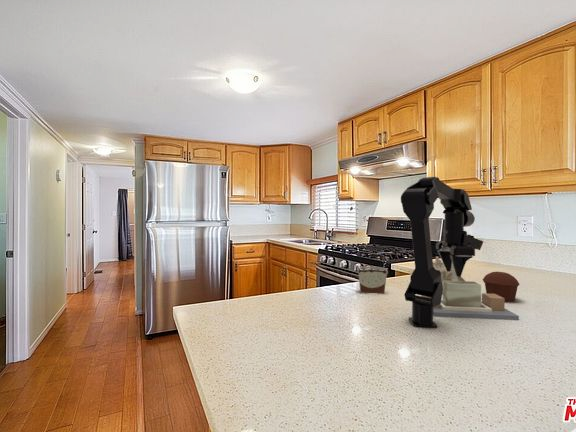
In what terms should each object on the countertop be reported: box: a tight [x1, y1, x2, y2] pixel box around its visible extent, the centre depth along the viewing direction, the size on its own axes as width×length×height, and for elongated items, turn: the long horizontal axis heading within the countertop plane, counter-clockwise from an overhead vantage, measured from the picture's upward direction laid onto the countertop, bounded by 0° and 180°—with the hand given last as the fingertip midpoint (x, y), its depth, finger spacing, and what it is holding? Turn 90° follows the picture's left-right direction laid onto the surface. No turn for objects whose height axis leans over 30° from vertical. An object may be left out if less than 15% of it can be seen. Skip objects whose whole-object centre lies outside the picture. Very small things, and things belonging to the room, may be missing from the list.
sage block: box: [442, 280, 482, 308], centre depth 105 cm, size 5×10×8 cm, turn 82°
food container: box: [356, 265, 389, 295], centre depth 129 cm, size 12×6×10 cm, turn 84°
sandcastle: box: [433, 256, 466, 295], centre depth 132 cm, size 16×16×15 cm
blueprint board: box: [421, 292, 520, 321], centre depth 105 cm, size 15×27×5 cm, turn 83°
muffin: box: [482, 271, 520, 303], centre depth 119 cm, size 12×11×10 cm
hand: (453, 273), depth 106 cm, fingers open, 9 cm apart
